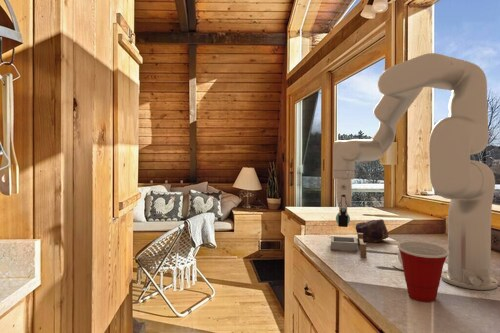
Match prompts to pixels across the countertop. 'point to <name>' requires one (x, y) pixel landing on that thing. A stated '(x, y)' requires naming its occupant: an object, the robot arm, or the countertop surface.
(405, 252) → the plastic cup
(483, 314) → the countertop surface
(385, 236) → the rock
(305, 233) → the countertop surface
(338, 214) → the ball
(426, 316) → the countertop surface
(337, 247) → the dish
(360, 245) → the rail
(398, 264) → the teacup
